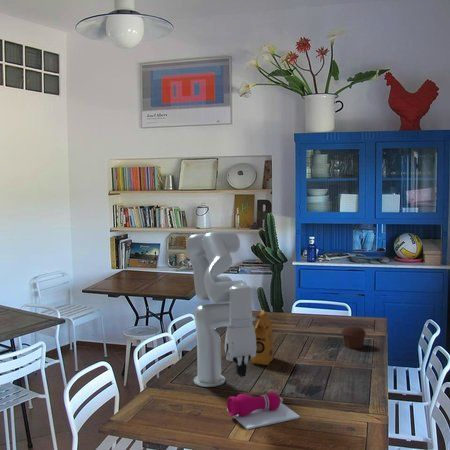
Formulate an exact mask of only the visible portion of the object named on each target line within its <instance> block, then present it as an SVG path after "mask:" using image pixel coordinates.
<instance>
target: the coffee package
mask: <svg viewBox="0 0 450 450" xmlns="http://www.w3.org/2000/svg"><path fill="white" fill-rule="evenodd" d="M256 318H257V319H258V320H257V322H256V324H255V326H254V329H255V335H256V356H255V357H252V358H250V360H251V363H252V364H256V365H264V366H265V365H266V366H269V365H270V363H271V362H272V361H273V359H274V335H273V328H272V327H273V326H272V323H271V320H270V318H269V317H268V315H267V313H266V312H265V310H264V309H262V310H261V311H260V314H258V315H257V316H255V319H256Z"/></svg>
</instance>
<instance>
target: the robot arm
mask: <svg viewBox="0 0 450 450" xmlns="http://www.w3.org/2000/svg"><path fill="white" fill-rule="evenodd" d="M185 244H186V246H185V247H186V252H187V256H188V258H189V261H190V265H191V267H192V271H193V274H192V275H193V282H194V290H195V292H194V293H195V296H196V299H198V300H199V301H201V302H202V301H204V302H206V301H210V303H206V304H205V303H204V304H201V305H199V306H197V307H196V308H195V310H194V315H193V316H194V322H195V323H194V324H195V329H196V344H197V345H196V352H197V353H196V354H197V358H196V359H197V361H196V362H197V375H196V376H195V377H194V378H193V383H194V384H195V385H196V386H199V387H205V388H212V387H213V388H214V387H218V386H221V385H224V383H225V382H226V378H225V376H224V375H222V347H221V346H222V342H221V337H220V334H219V333H218V332H217V331H216V330H215V329H217V328H224V327H226V332H225V338H224V339H225V340H224V352H225V355H226V358H225V359H226V361H229V362H234V363H235V365H236V366H235V368H236V369H235V370H236V372H235V373H236V374H237V375H238V377H240V378H242V377H246V376H247V375H246V374H247V365H248V363H249V361H250V360H251V358H252V357H255V356H256V335H255V329H254V328H255V326H254V324H253V322H255V321H256V316H253V291H252V287H251V286H250V285H247V283H246V282H245V281H244V280H233V279H232V278H231V277H229V276H227V275H221V274H223V273H225V272H226V271H228V270H229V269H230V268H231V267H232V265H233V258H232V255H231V254H234V253H237V252H238V251H239V250H240V247H241V240H240V237H239V235H238V234H237V233H236V232H235V231H234V230H233V231H232V230H225V231H224V230H223V231H211V232H207V233H195V234H191V235H190V236H188V237H187V238H186V242H185Z"/></svg>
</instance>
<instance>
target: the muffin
mask: <svg viewBox="0 0 450 450" xmlns="http://www.w3.org/2000/svg"><path fill="white" fill-rule="evenodd" d="M340 333H341V335H342V339H343V345H344V347H345V348H347V349H351V350H352V349H354V350H357V349H358V350H360V349H362V348H363V347H364V344H365V343H364V342H365V336H366V330H365V329H364V328H362V327H361V326H359V325H356V324H350V325H346V326H345V327H343V329H342V330H341V332H340Z"/></svg>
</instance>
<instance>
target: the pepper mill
mask: <svg viewBox="0 0 450 450" xmlns="http://www.w3.org/2000/svg"><path fill="white" fill-rule="evenodd" d="M283 401H284V399H283V398H282V397H280V396H279V394H278V393H276V392H273V391H271V392H268V393H267V394H261V395H260V396H253V395H250V394H247V393H246V394H245V393H239V394H237V396H229V397H228V398H227V402H226V405H227V406H226V409H228V411H227V412H228V414H229V415H230V417H233V416H237V415H238V414H239V415H240V416H246V415H248V414H250V413H251V412H253V411H254V410H257V409H263V410H265V409H266V410H267V409H269V410H276V409H277V408H278V407H279V405H280V403H283Z"/></svg>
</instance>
